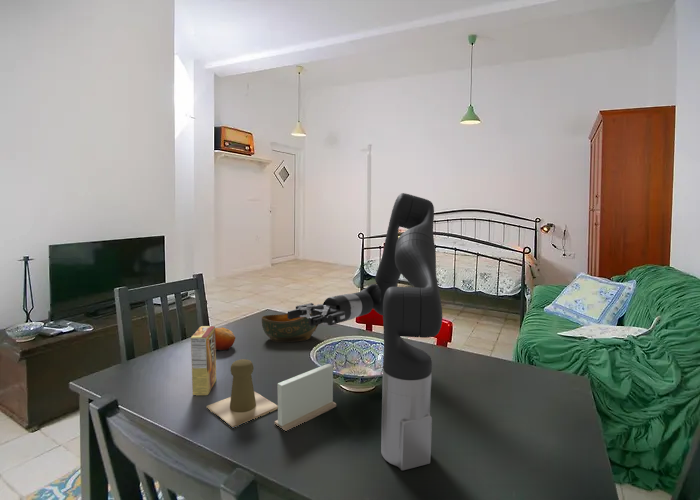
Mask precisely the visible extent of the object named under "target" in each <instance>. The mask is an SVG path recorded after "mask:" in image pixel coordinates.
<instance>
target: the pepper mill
mask: <svg viewBox="0 0 700 500" xmlns="http://www.w3.org/2000/svg"><path fill="white" fill-rule="evenodd" d="M254 367H255V366H254V364H253V362H252V361H251V360H250V359H245V358H242V359H237V360H235V361H233V362H232V364H231V365H230V374H231V375H232V385H231V393H230V397H231V401H230V409H231V410H232V411H234V412H247V411H250V410H252V409H254V408H255V406H256V401H255V394H254V383H253V377H252V374H253V372H254Z"/></svg>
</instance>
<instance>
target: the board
mask: <svg viewBox="0 0 700 500" xmlns="http://www.w3.org/2000/svg"><path fill="white" fill-rule="evenodd" d="M254 394H255V401H256V406H255V408H254V409H252V410H250V411H247V412H234V411H232V410H231V409H230V401H231V396H229V397H226V398H224V399H221V400H218V401H216V402H213V403H211V404H207V405H206V409H207V408H208V409H209V410H210V411H209V410H208V409H207V410H208V411H209V412H211V413H212V412H213V413H214V414H216V415H217V416H219V417H220V418H221V419H222V420H224V421H225V422H226V423H228V424H229V425H230V426H231V427H235V426H238V425H240V424H242V423H245V422H247V421H250V420H252V419H254V420H256V419H259V418H261V417H264V416H265V415H267V414H270V413H272V412H274V411H276V410H278V404H276V403H274V402H273V401H271V400H270V399H267V398H266V397H264V396H262V395H261V394H260V393H258V392H256V391H254ZM269 412H270V413H269ZM213 413H212V414H213ZM214 414H213V415H214ZM216 415H215V416H216ZM217 416H216V417H217ZM260 416H261V417H260ZM258 417H259V418H258ZM255 418H256V419H255ZM221 419H220V420H221ZM222 420H221V421H222ZM252 421H253V420H252ZM225 422H224V423H225ZM250 422H251V421H250ZM226 423H225V424H226ZM247 423H248V422H247ZM245 424H246V423H245ZM230 426H229V427H230ZM231 427H230V428H231ZM238 427H239V426H238Z"/></svg>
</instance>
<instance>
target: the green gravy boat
mask: <svg viewBox="0 0 700 500" xmlns="http://www.w3.org/2000/svg"><path fill="white" fill-rule="evenodd" d="M310 316H312V313H310ZM319 325H320V324H318V325H314V326H309V325H308V318H307V317H299V318H295V319H288V316H287V313H282V314H280V313H279V314H268V315H262V316H261V326H262V330H263V331H264V333H265V335H266V336H267V337H268V338H269V340H270V341H272V342H276V343H299V342H304V341H308V340H310V339H311V338H312V337H311V336H313V334H314V332H316V330H317V329H318V326H319Z"/></svg>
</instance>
